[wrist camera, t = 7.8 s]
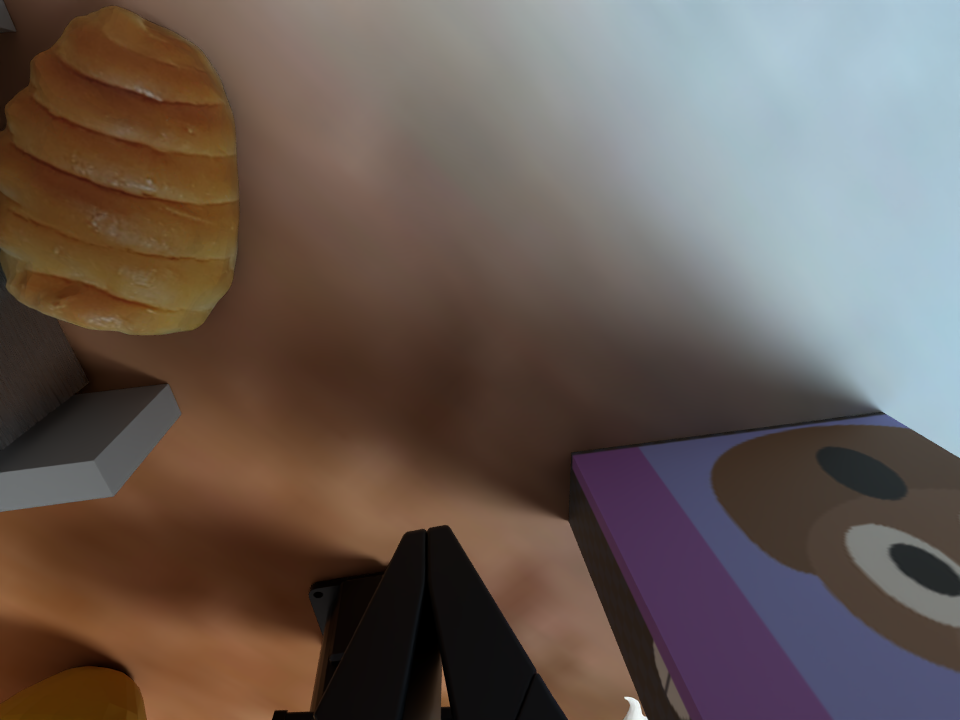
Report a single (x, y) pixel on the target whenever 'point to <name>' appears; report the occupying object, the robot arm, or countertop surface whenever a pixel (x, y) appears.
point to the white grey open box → (83, 438)
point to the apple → (78, 697)
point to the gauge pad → (32, 366)
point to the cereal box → (779, 570)
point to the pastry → (120, 180)
